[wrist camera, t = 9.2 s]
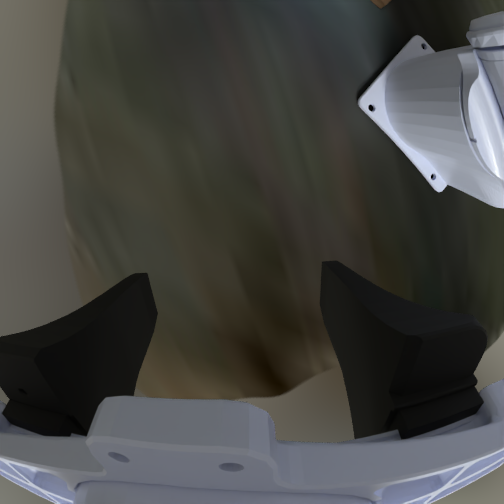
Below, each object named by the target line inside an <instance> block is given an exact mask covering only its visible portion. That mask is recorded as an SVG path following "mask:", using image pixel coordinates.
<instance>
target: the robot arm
mask: <svg viewBox="0 0 504 504" xmlns="http://www.w3.org/2000/svg"><path fill="white" fill-rule="evenodd" d="M469 30H470V31H468V32H467V33H466V37H467V39H468V40H469V42H470V44H471V45H469V46H463V47H458V48H453V49H448V50H444V51H439V52H435V51H434V50H433V49H432V48H431V47H430V46H429V45H428V43H427V42H426V41H425V40H424V39H423V38H422V37H421V36H418V35H416V36H414V37H412V38H411V39H410V41H409V42H408V43H407V44H406V45H405V46H404V47H403V48H402V50H401V51H400V52H399V53H398V54H397V55H396V56H395V57H394V59H393V60H392V61H391V62H390V63H389V64H388V65H387V67H386V68H385V69H384V70H383V71H382V72H381V73H380V75H379V76H378V77H377V78H376V79H375V80H374V81H373V83H372V84H371V85H370V86H369V87H368V88H367V90H366V91H365V92H364V93H363V94H362V95H361V96H360V98H359V99H358V105H359V107H360V108H361V109H362V110H363V111H364V112H365V113H366V114H367V115H368V116H369V117H370V118H371V119H372V120H373V121H374V122H375V123H376V124H377V125H378V126H379V127H380V128H381V129H382V130H383V131H384V132H385V133H386V134H387V135H388V136H389V137H390V138H391V139H392V140H393V141H394V143H395V144H396V145H397V146H398V147H399V148H400V149H401V150H402V151H403V152H404V154H405V155H406V156H407V157H408V158H409V159H410V160H411V162H412V163H413V164H414V165H415V166H416V167H417V169H418V170H419V171H420V172H421V173H422V175H423V176H424V177H425V178H426V180H427V181H428V182H429V183H430V185H431V186H432V187H433V188H434V190H436V191H438V192H441V191H443V190H444V188H445V187H446V186H447V184H448V185H450V186H452V187H455V188H457V189H459V190H461V191H463V192H465V193H467V194H469V195H471V196H473V197H475V198H477V199H479V200H481V201H483V202H485V203H487V204H489V205H491V206H494V207H498V208H504V11H501V12H497V13H493V14H490V15H486V16H483V17H480V18H476V19H474V20H471V23H470V27H469ZM421 44H422V45H423V46H424V48H425V49H423V48H422V46H421ZM370 104H371V105H372V106H373V111H370V110H369V109H368V106H369V105H370ZM432 174H433V178H432V179H431V175H432ZM320 307H321V311H322V316H323V320H324V324H325V326H326V329H327V332H328V334H329V337H330V340H331V342H332V345H333V347H334V350H335V353H336V355H337V358H338V361H339V363H340V366H341V370H342V373H343V377H344V382H345V386H346V391H347V396H348V401H349V406H350V411H351V417H352V423H353V430H354V437H355V439H354V440H349V441H343V442H337V443H320V442H296V441H282V440H276V438H275V425H274V422H273V420H272V419H271V417H270V415H269V414H268V412H266V411H264V410H262V409H260V408H258V407H256V406H254V405H252V404H249V403H247V402H241V401H233V400H225V399H216V400H202V399H167V398H150V397H137V396H134V391H135V386H136V381H137V378H138V374H139V371H140V368H141V365H142V363H143V360H144V357H145V355H146V352H147V349H148V346H149V344H150V341H151V338H152V335H153V333H154V328H155V324H156V319H157V314H158V312H157V309H156V305H155V301H154V297H153V294H152V290H151V286H150V282H149V278H148V274H147V273H135V274H132V275H130V276H128V277H127V278H125V279H124V280H122V281H121V282H119V283H118V284H116V285H115V286H113V287H112V288H110V289H109V290H107V291H106V292H105V293H103V294H102V295H100V296H99V297H97V298H95V299H94V300H92V301H91V302H89V303H88V304H86V305H85V306H83V307H81V308H79V309H78V310H76V311H74V312H72V313H70V314H69V315H66V316H64V317H62V318H60V319H57V320H55V321H53V322H50V323H48V324H46V325H43V326H40V327H37V328H34V329H31V330H28V331H24V332H20V333H16V334H11V335H7V336H1V337H0V387H1V388H2V390H3V391H4V392H5V394H6V395H7V397H8V398H9V399H10V400H9V402H8V403H7V405H6V404H4V403H3V402H2V401H0V475H2V476H3V477H5V478H7V479H9V480H10V481H12V482H14V483H16V484H18V485H20V486H22V487H23V488H25V489H27V490H29V491H31V492H33V493H35V494H37V495H39V496H41V497H43V498H45V499H47V500H49V501H51V502H53V503H55V504H430V503H432V502H434V501H436V500H439V499H441V498H443V497H444V496H447V495H449V494H451V493H453V492H455V491H457V490H458V489H460V488H462V487H464V486H466V485H468V484H470V483H472V482H473V481H475V480H477V479H479V478H481V477H482V476H484V475H486V474H488V473H489V472H491V471H493V470H494V469H496V468H497V467H499V466H501V465H502V464H503V463H504V379H502V380H500V381H497V382H495V383H493V384H491V385H488V386H486V387H485V388H483V389H482V390H481V391H480V392H479V393H478V391H477V389H476V388H475V385H476V384H477V379H476V377H475V376H474V374H473V373H474V371H475V370H476V368H477V366H478V363H479V362H480V360H481V358H482V356H483V354H484V351H485V348H486V345H487V338H488V336H487V332H486V330H485V329H484V328H483V327H482V325H481V324H480V323H479V322H478V321H477V319H476V318H475V317H474V316H473V315H467V314H459V313H452V312H446V311H442V310H437V309H433V308H430V307H426V306H423V305H420V304H417V303H414V302H411V301H408V300H405V299H403V298H401V297H398V296H396V295H394V294H392V293H390V292H388V291H386V290H384V289H382V288H380V287H378V286H376V285H375V284H373V283H371V282H370V281H368V280H366V279H365V278H363V277H362V276H360V275H358V274H357V273H355V272H354V271H352V270H351V269H349V268H348V267H346V266H345V265H343V264H342V263H340V262H338V261H326V262H322V273H321V293H320Z"/></svg>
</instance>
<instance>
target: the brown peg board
mask: <svg viewBox="0 0 504 504" xmlns="http://www.w3.org/2000/svg"><path fill="white" fill-rule="evenodd" d="M371 1H372V2H373V3H374V4H375V5H376V6H378V7H379V8H380V9H381V8H383V7H384V6H385V5H387V4H388V3H389V2H390V1H391V0H371Z"/></svg>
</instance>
